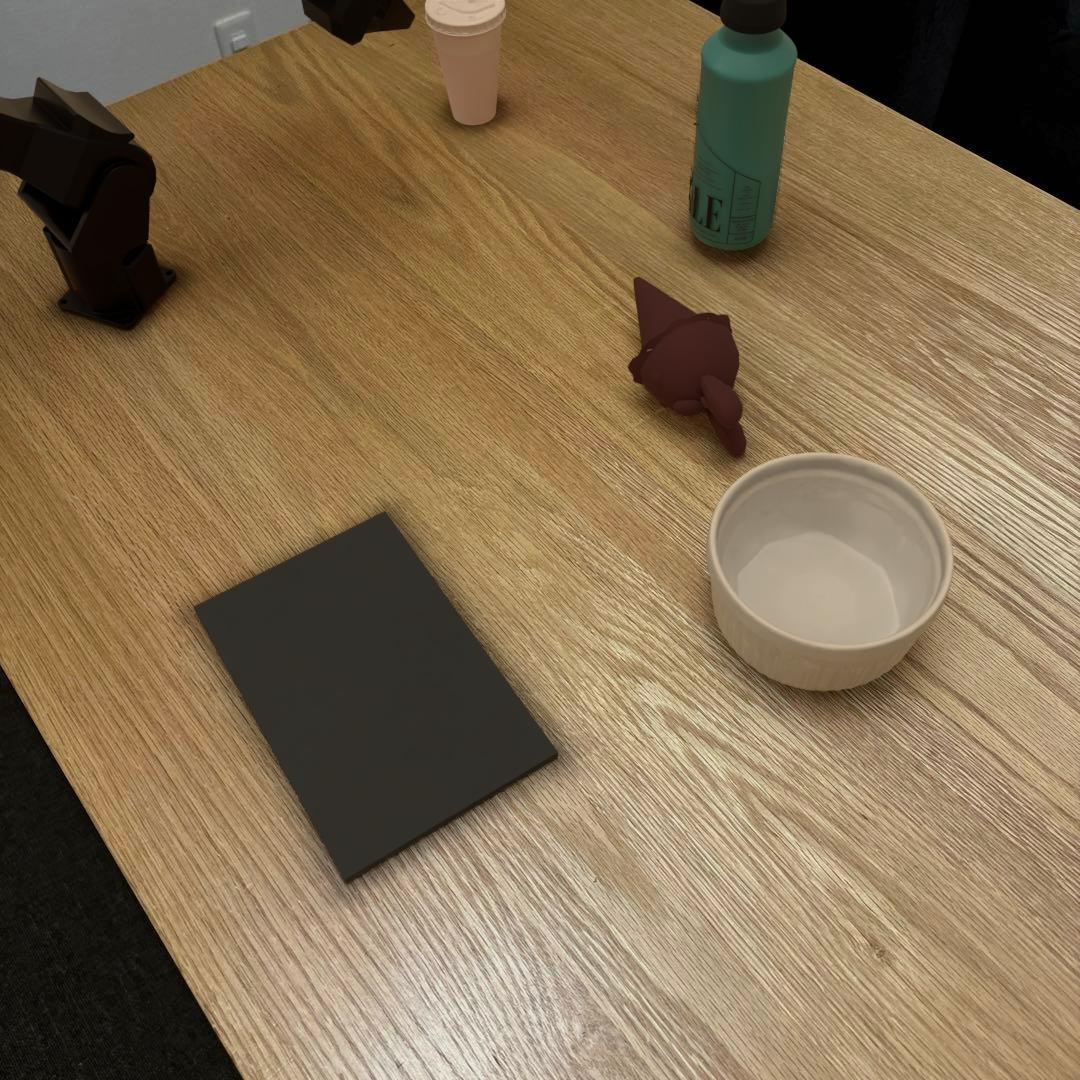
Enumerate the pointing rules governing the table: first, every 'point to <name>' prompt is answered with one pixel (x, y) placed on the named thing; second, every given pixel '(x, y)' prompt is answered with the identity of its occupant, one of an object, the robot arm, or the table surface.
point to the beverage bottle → (741, 124)
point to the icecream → (689, 363)
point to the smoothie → (468, 54)
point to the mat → (372, 693)
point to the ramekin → (826, 569)
